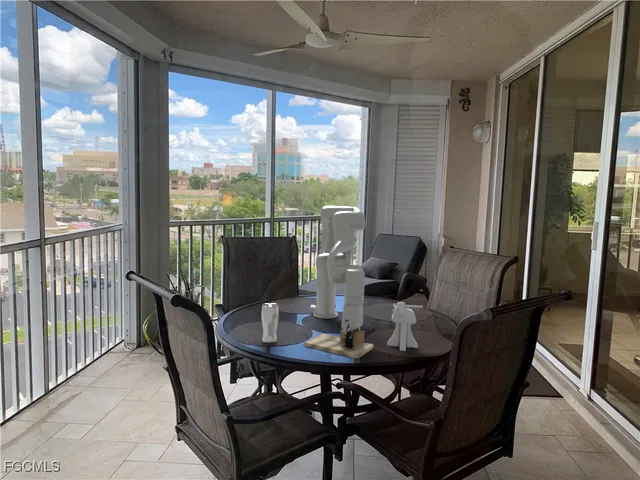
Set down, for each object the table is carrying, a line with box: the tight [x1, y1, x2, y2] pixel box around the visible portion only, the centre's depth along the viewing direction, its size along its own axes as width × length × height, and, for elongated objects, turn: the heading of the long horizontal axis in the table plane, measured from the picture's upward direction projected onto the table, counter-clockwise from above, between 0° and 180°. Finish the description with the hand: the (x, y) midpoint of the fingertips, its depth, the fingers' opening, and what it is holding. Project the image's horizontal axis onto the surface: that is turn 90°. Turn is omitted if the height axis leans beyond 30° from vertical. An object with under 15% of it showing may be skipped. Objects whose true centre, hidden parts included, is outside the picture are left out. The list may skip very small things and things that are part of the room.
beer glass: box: [261, 302, 280, 344], centre depth 181 cm, size 7×7×15 cm
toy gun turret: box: [386, 301, 424, 352], centre depth 179 cm, size 12×13×18 cm
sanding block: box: [339, 328, 365, 350], centre depth 173 cm, size 8×5×6 cm, turn 59°
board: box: [303, 333, 375, 359], centre depth 176 cm, size 24×14×2 cm, turn 59°
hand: (352, 345), depth 173 cm, fingers closed on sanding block, 4 cm apart
